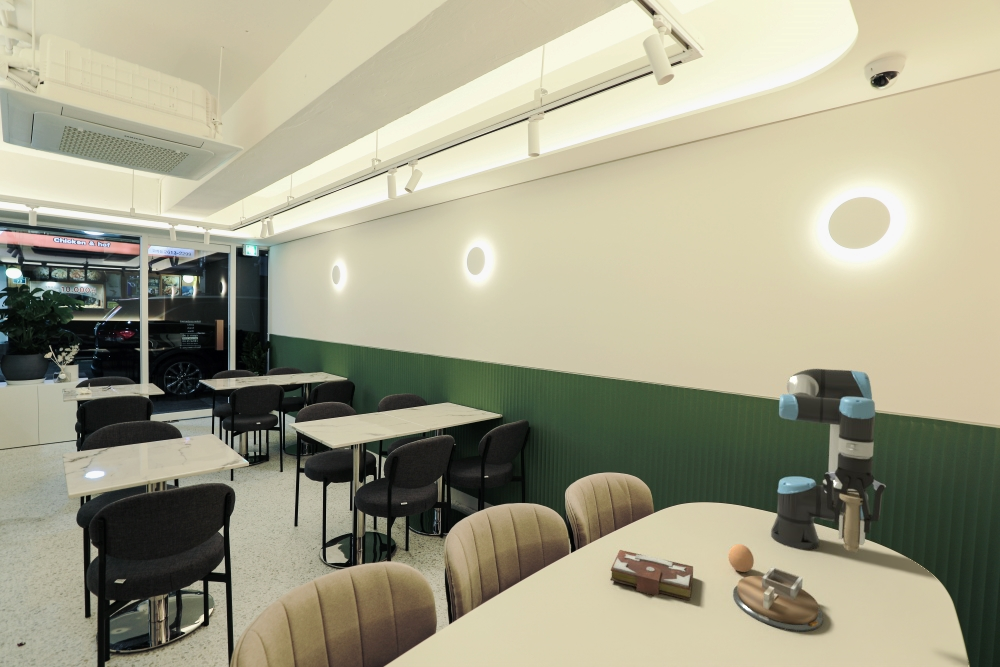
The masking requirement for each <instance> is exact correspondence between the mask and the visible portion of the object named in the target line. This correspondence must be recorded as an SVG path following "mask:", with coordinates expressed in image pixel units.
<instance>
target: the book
mask: <svg viewBox="0 0 1000 667" xmlns="http://www.w3.org/2000/svg"><path fill="white" fill-rule="evenodd" d="M610 571H611V576H610V581H612V582H617V583H620V584H624V585H628V586H633V587H636V592H638V591H641V592H640V593H642V592H644V593H643V594H646V593H648V594H647V595H650V594H652V595H651V596H654V595H655V596H659V594H664V595H668V596H670V597H675V598H680V599H682V600H683V599H684V600H688V601H690V600H691V594H692V585H693V578H694V566H692V565H688V564H683V563H679V562H676V561H671V560H666V559H661V558H658V557H653V556H649V555H644V554H639V553H635V552H631V551H627V550H622V549H619V551H618V553H617V555H616V557H615V560H614V562H613V563H612V566H611V568H610Z"/></svg>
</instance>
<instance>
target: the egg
mask: <svg viewBox="0 0 1000 667" xmlns="http://www.w3.org/2000/svg"><path fill="white" fill-rule="evenodd" d="M728 561H729V564H730V566H732V568H733V569H734V570H736V571H737V572H740V573H746V572H749V571H750V570H751V569H753V567H754V563H755V562H754V555H753V552H751V550H750V549H749V547H747V545H744V544H742V543H739V544H734V545H733V546H732V547H731V548H730V549H729V552H728Z"/></svg>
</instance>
